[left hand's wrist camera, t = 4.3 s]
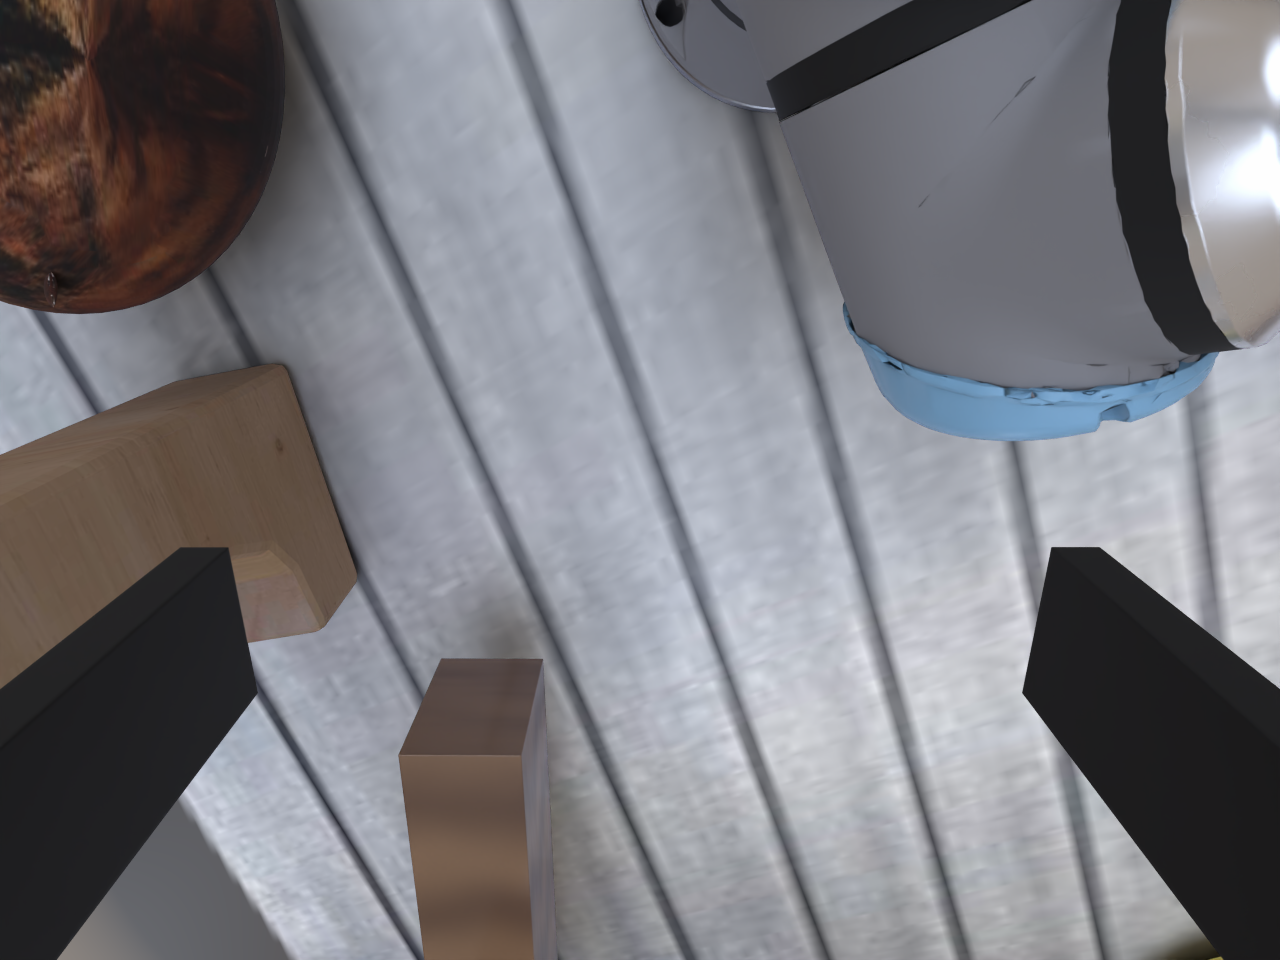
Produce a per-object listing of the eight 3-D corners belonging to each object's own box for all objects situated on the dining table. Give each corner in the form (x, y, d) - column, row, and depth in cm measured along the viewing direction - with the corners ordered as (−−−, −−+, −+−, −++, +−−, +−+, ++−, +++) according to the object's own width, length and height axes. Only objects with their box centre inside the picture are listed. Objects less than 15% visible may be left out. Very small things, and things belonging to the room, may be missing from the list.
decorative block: (255, 597, 53) (-182, 1065, 25) (169, 381, 48) (-507, 662, 20) (363, 579, 52) (42, 1036, 24) (288, 358, 47) (-231, 614, 19)
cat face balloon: (-245, -331, 32) (-352, -576, 19) (232, -119, 44) (375, -174, 31) (-201, 227, 39) (-256, 341, 26) (200, 279, 51) (306, 376, 38)
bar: (441, 658, 46) (398, 754, 38) (543, 658, 46) (521, 755, 38) (480, 1050, 57) (453, 1188, 49) (562, 1051, 57) (548, 1189, 49)
